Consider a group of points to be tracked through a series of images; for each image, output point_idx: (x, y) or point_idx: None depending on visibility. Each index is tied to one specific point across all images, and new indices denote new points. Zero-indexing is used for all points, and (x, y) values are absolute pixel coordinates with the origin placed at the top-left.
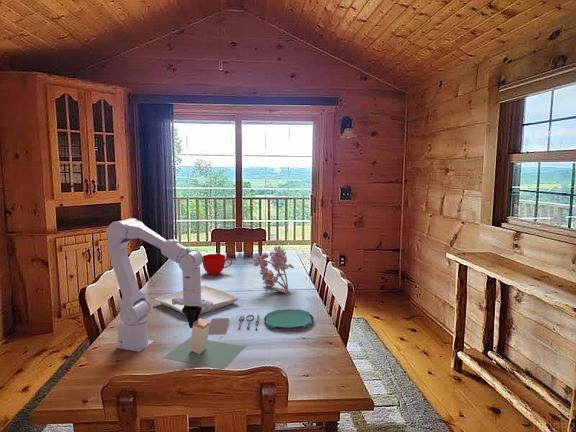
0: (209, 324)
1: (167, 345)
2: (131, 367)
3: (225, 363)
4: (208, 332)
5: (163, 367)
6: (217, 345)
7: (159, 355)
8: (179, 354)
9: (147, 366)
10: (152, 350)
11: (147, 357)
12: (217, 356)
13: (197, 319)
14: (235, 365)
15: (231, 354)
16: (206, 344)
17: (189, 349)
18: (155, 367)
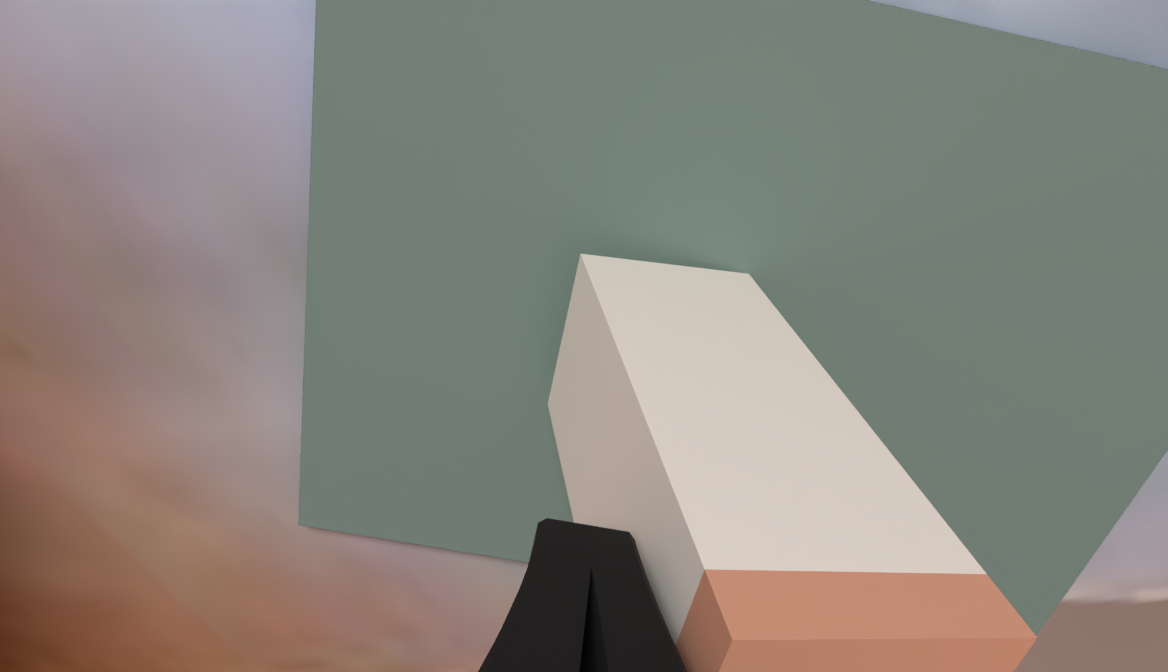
0: (985, 590)
1: (122, 200)
2: (117, 659)
3: (1050, 558)
4: (879, 440)
5: (412, 636)
6: (911, 147)
7: (214, 453)
8: (451, 446)
9: (249, 635)
10: (35, 357)
11: (115, 502)
12: (944, 438)
13: (673, 663)
14: (1155, 546)
15: (1133, 379)
16: (775, 312)
17: (552, 412)
18: (336, 642)
